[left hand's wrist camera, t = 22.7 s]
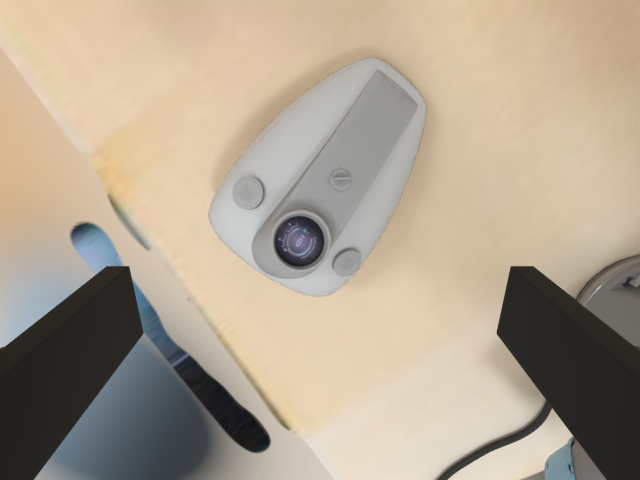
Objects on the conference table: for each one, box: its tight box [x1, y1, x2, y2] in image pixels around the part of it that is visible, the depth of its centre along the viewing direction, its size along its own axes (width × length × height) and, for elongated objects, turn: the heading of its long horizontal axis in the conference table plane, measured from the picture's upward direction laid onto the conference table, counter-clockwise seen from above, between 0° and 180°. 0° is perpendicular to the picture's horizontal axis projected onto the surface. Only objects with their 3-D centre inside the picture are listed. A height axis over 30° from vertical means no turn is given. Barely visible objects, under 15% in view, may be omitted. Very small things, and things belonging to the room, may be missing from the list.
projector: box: [209, 57, 427, 297], centre depth 33 cm, size 22×23×15 cm
